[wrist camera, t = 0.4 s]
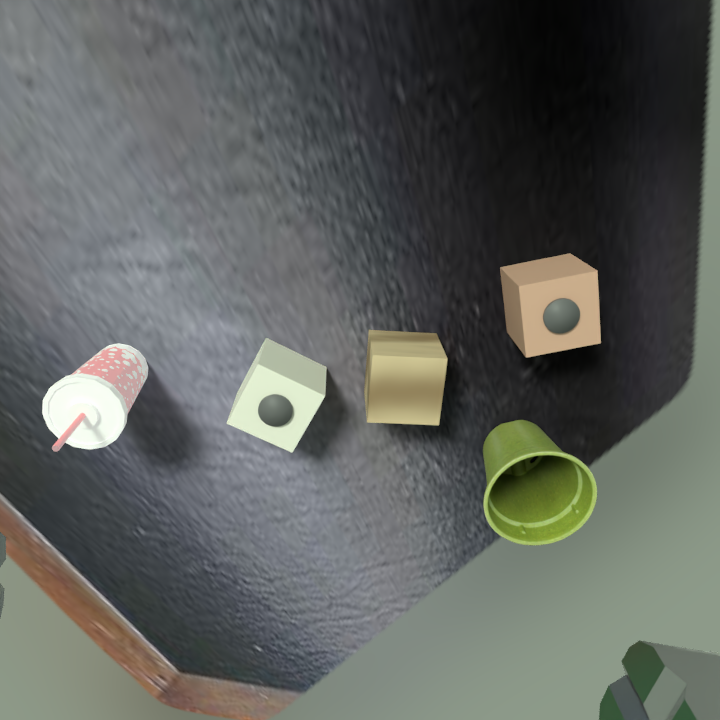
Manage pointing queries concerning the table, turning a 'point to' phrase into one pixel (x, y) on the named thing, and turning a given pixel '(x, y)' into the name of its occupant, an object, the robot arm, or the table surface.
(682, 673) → the robot arm
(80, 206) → the table surface
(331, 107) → the table surface
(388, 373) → the oak block
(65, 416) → the beverage cup
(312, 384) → the dot block cream
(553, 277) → the dot block tan
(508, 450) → the plant pot
